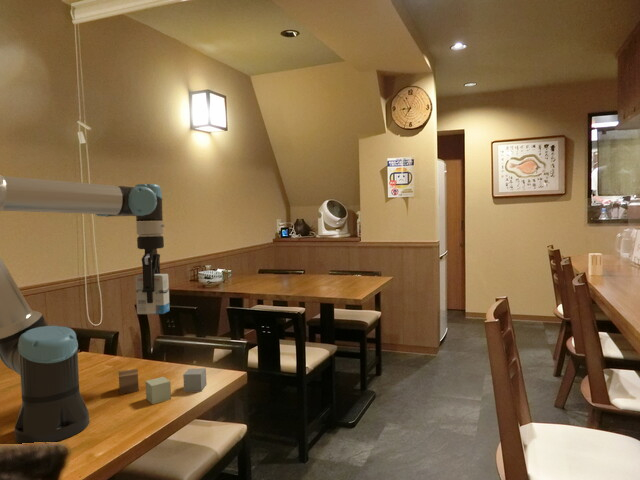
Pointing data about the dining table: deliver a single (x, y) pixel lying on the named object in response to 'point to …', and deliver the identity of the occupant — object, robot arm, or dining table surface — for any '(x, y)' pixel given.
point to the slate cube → (194, 380)
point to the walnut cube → (128, 381)
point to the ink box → (160, 293)
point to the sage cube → (158, 390)
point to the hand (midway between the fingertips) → (153, 311)
